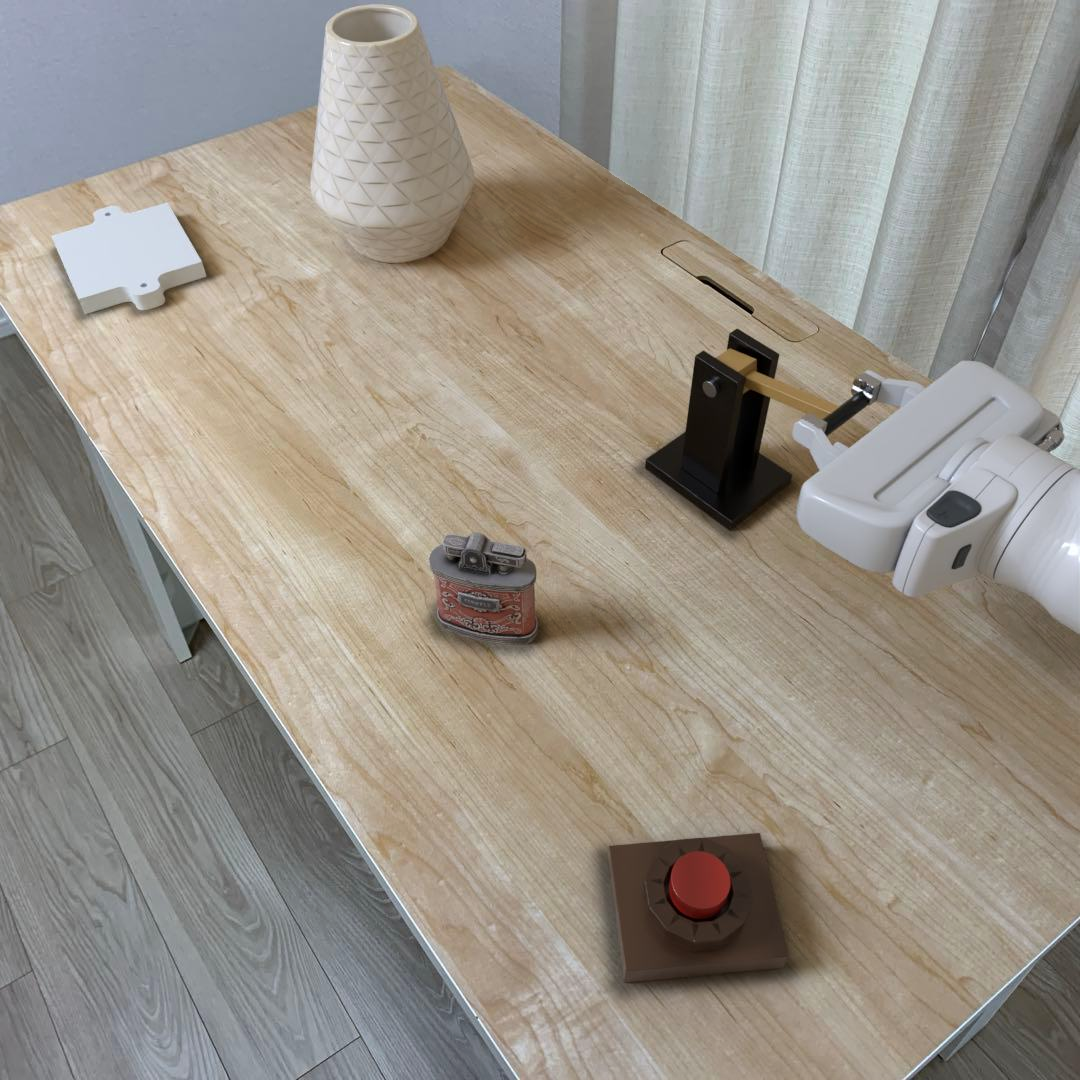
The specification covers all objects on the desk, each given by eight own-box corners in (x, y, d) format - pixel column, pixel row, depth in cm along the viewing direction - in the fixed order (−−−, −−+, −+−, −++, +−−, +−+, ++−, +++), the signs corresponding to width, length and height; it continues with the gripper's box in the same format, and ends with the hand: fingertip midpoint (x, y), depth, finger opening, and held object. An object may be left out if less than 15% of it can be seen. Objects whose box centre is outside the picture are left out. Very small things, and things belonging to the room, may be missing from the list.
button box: (755, 846, 70) (764, 820, 67) (782, 968, 65) (793, 946, 62) (607, 859, 70) (609, 833, 67) (623, 983, 65) (626, 961, 62)
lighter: (432, 631, 82) (419, 550, 74) (445, 597, 84) (433, 515, 76) (532, 650, 81) (529, 570, 73) (542, 615, 83) (540, 534, 75)
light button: (720, 860, 66) (724, 848, 65) (732, 916, 64) (736, 905, 62) (664, 864, 66) (666, 853, 65) (673, 921, 64) (676, 911, 62)
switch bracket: (790, 484, 92) (820, 362, 81) (729, 531, 88) (752, 410, 78) (705, 425, 96) (723, 303, 86) (644, 468, 93) (655, 347, 82)
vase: (444, 294, 110) (422, 79, 92) (294, 265, 113) (245, 53, 96) (499, 204, 120) (489, -4, 102) (360, 181, 124) (327, -25, 106)
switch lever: (867, 415, 78) (869, 388, 77) (821, 451, 76) (822, 424, 75) (743, 363, 86) (743, 338, 84) (698, 394, 84) (697, 369, 82)
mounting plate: (52, 239, 117) (46, 224, 116) (166, 206, 121) (161, 191, 119) (90, 327, 107) (84, 312, 105) (213, 289, 111) (209, 273, 109)
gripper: (1093, 395, 72) (922, 307, 79) (919, 549, 63) (743, 435, 70) (1061, 460, 77) (902, 372, 84) (895, 613, 68) (733, 500, 75)
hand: (828, 402), depth 77 cm, fingers closed on switch lever, 5 cm apart
